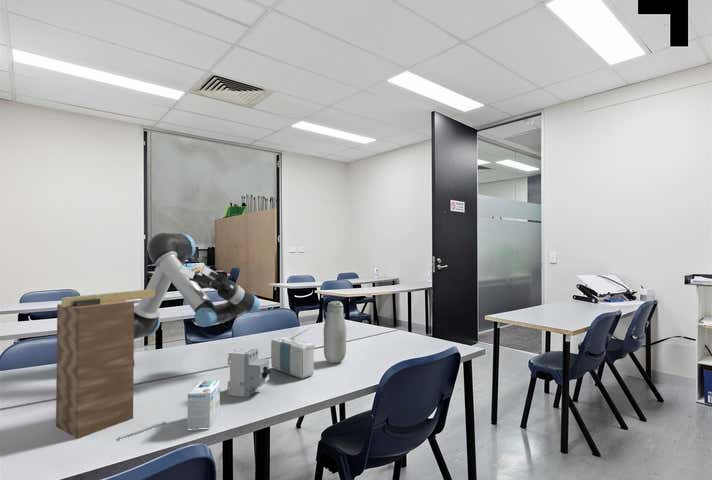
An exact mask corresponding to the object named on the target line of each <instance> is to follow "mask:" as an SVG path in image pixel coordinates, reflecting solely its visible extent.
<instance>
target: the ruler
mask: <svg viewBox="0 0 712 480" xmlns="http://www.w3.org/2000/svg"><path fill="white" fill-rule="evenodd" d="M165 425H167V422H166V421H165V420H164V421H160V422H158V423H155V424H151V425H149V426H145V427H143V428H140V429H136V430H134V431H131V432H129V433H128V432H127V433H125V434H122V435H119V436H118V437H117V439H118V441H121V440H120V439H122V440H124V439H123V438H125V439H127V437H128V438H130V436H131V437H133V435H134V436H136V435H139V434H142V433H145V432H148V431H150V429H151V430H153V429H152V428H154V429H157V428H159V427H162V426H165ZM147 430H148V431H147ZM144 431H145V432H144Z"/></svg>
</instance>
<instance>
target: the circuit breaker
mask: <svg viewBox="0 0 712 480" xmlns="http://www.w3.org/2000/svg"><path fill="white" fill-rule="evenodd" d="M227 354H228V357H227V365H228V366H229V381H227V396H236V397H250V396H251V395H252V394H254V393H255V392H256V391H258V389H259V388H261V387H262V386H263V385H264V384H266V383H267V382H268V381H270V374H271V373H272V369H270V359H268V358H259V348H255V347H253V348H252V347H251V348H250V347H237V348H236V349H234V350H232V351H229V352H228V353H227Z"/></svg>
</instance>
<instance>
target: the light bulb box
mask: <svg viewBox="0 0 712 480" xmlns="http://www.w3.org/2000/svg"><path fill="white" fill-rule="evenodd" d="M220 383H221V381H220V380H205V381H203V380H202V381H201V380H199V381H198V382H197V383H196V385H195V386H193V388H192V389H191V390H190V391H189V392H188V393H187V429H199V428H210V427H211V426H212V427H213V425H214V424H215V422H216V420H217V419H216V418H218V417H219V416H220V410H221V409H220V403H221V399H220V398H221V397H220V392H221V391H220V389H221V388H220V387H221V384H220ZM214 421H215V422H214ZM212 424H213V425H212ZM212 427H211V428H212ZM211 428H210V429H211Z"/></svg>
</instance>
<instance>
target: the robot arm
mask: <svg viewBox="0 0 712 480" xmlns="http://www.w3.org/2000/svg"><path fill="white" fill-rule="evenodd" d="M195 243H196V242H195V240H194V239H193V238H192V236H190V235H188V234H186V233H185V234H184V233H181V232H180V233H179V232H178V233H173V232H170V233H169V232H168V233H167V232H160V233H157V234H155V235H154V236H152V237H151V238H150V240H149V241H148V244H147V254H148V257H149V258H150V260H151V261H152V263H153V264H154V267H155V269H154V272H153V274H152V276H151V277H150V280H149V282H148V283H147V286H146V288H145V290H148V289H153V290H155V297H151V298H143V299H140V301H139V303H138V304H136V305H135V304H134V340H137V339H140V338H145V337H149V336H150V335H153V334H154V333H155V332H156V331H158V329H159V327H160V325H161V320H160V312H159V308H160V306H161V304H162V302H163V300H164V298H165V296H166V295H167V292H168V289H169V288H170V285H171V283H172V285H173V286H174V287H175V289H176V290H177V291H178V292H179V293H180V295H181V296H182V298H183V299H184V301H185V302H187V304H188V305H189V307H190V308H191V309H192V310H193V312H194V316H193V317H194V323H195V324H196V325H197V326H198V327H203V328H205V327H211V326H213V325H216V324H218V323H219V324H224V323H226V322H229V321H230V320H232V319H234V318H235V317H238V315H241V314H243V313H245V312H246V313H249V314H254V313H255V312H257V311H258V310H259V308H260V305H261V301H260V299H259V298H258V297H257V296H256V295H254V294H252V293H251V292H250V291H248V290H246V289H244V288H243V287H241V284H238V285H237V284H236V283H235V282H233V281H231V280H230V279H229V278H228V277H227V276H226V275H225V274H224V275H223V273H222V272H218V273H217V272H216V271H214V270H213V269H211V268H209V267H208V266H206V265H203V267H202V268H201V270H200V273H201V274H202V275H205V276H202V275H200V274H197V273H196V271H193V270H192V269H190V268H188V267H186V266H184V265H185V262H187V261H186V260H189V259H191V258H192V257H193V256H194V255H195V253H196V250H197V248H196V244H195ZM200 285H201V286H203V287H206V288H208V289H210V290H212V289H213V290H215V291H217V296H218V297H220V298H221V299H224V300H225V301H226V302H223V303H219V304H214V303H213V301H212V300H211V299H210V297H209V296H208V294H206V293H205V291H204V290H203V289H202V287H201V286H200Z"/></svg>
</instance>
